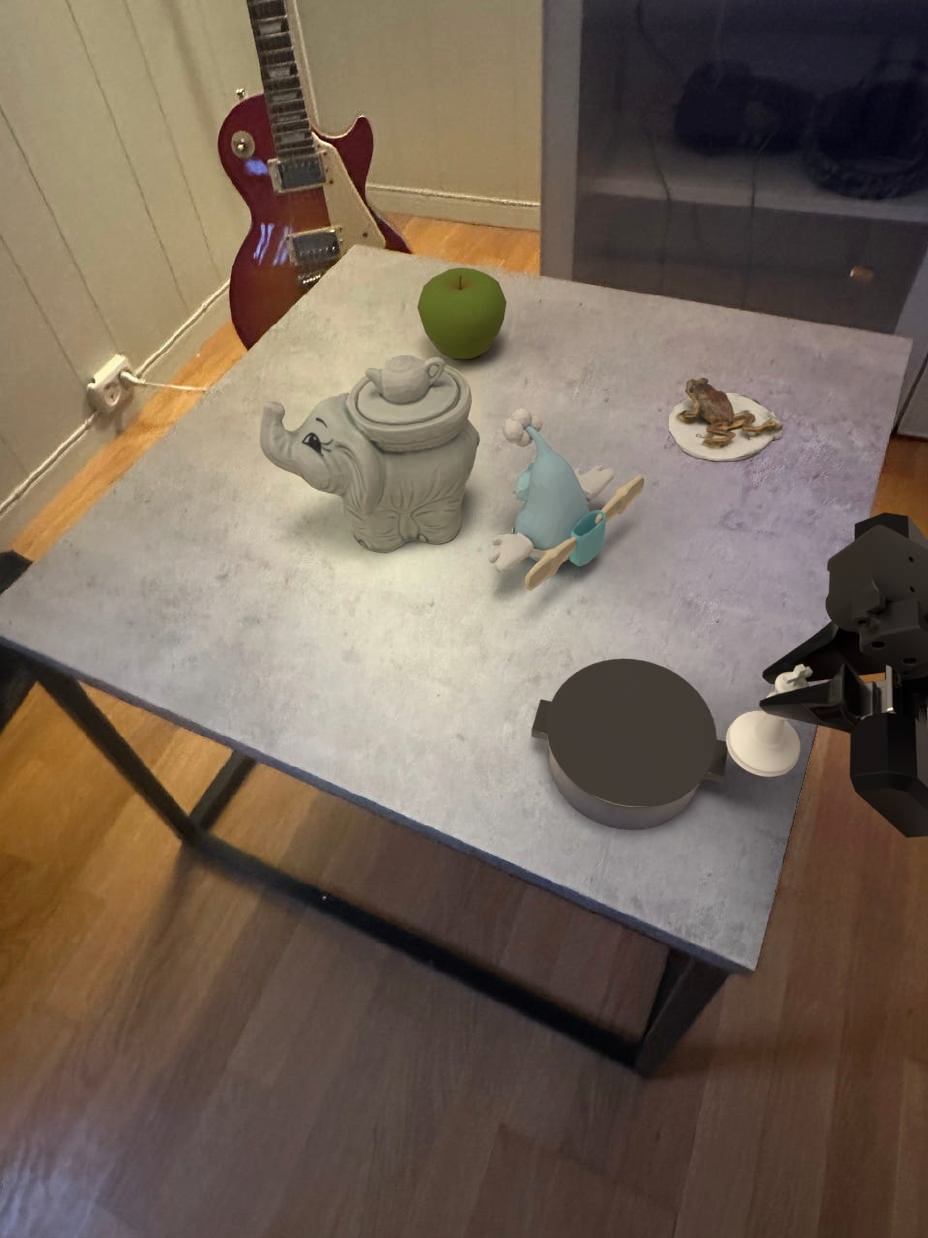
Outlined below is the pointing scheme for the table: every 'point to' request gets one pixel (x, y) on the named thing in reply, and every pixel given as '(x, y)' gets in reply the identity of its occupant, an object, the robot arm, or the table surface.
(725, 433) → the frog figurine
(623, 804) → the pot
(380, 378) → the teapot
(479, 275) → the apple
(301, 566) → the table surface
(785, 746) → the chess piece
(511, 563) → the toy figure
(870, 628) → the robot arm
